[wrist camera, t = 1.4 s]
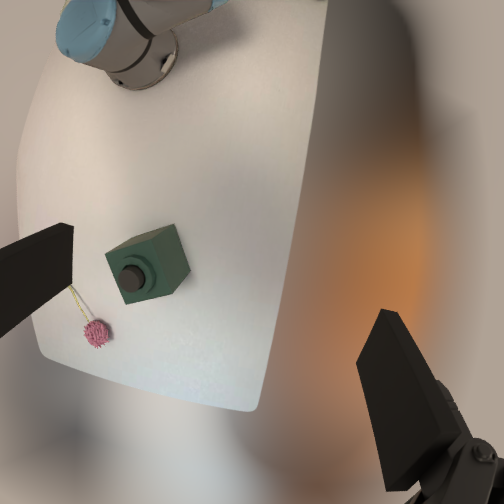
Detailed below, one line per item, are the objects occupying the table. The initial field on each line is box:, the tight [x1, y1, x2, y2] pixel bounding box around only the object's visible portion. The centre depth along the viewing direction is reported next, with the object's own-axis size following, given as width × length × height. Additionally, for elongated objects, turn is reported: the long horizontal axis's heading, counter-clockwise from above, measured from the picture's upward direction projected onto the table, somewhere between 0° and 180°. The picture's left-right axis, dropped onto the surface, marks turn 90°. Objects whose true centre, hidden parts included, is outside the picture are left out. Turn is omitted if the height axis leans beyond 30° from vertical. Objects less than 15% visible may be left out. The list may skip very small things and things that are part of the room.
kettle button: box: [118, 265, 145, 293], centre depth 51 cm, size 4×4×2 cm
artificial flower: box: [68, 285, 109, 349], centre depth 68 cm, size 7×7×25 cm
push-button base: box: [105, 224, 191, 305], centre depth 58 cm, size 10×10×13 cm
